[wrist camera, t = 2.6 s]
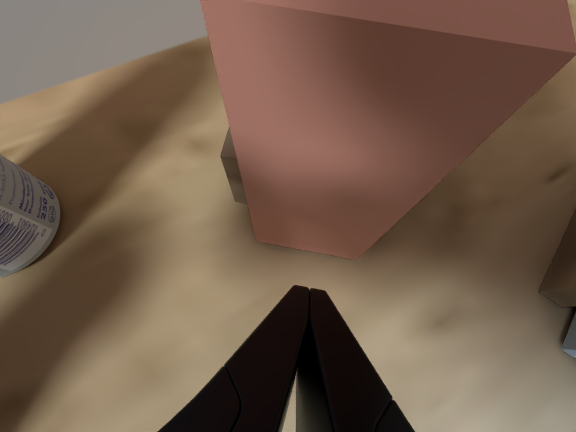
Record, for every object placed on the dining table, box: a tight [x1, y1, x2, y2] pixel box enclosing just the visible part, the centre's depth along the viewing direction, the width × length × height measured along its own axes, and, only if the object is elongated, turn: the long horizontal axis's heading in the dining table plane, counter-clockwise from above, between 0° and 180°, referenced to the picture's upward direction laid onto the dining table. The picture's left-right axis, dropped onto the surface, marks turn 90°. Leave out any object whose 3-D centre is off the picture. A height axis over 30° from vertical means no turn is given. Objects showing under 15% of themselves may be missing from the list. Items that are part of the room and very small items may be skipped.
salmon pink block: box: [200, 0, 576, 260], centre depth 10 cm, size 4×5×12 cm
